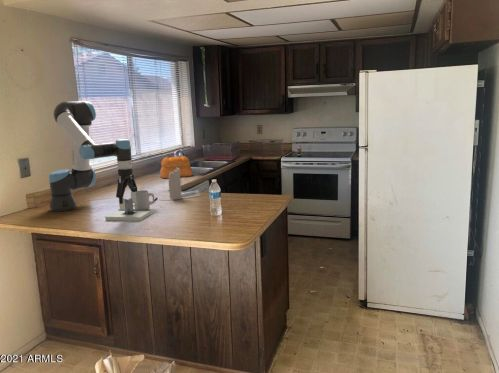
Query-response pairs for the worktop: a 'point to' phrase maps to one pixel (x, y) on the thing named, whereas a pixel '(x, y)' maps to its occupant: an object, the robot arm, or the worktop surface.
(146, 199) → the mug
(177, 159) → the bread
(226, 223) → the worktop surface
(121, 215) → the plate
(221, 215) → the worktop surface
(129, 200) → the grey metal cylinder
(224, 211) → the worktop surface
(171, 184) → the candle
